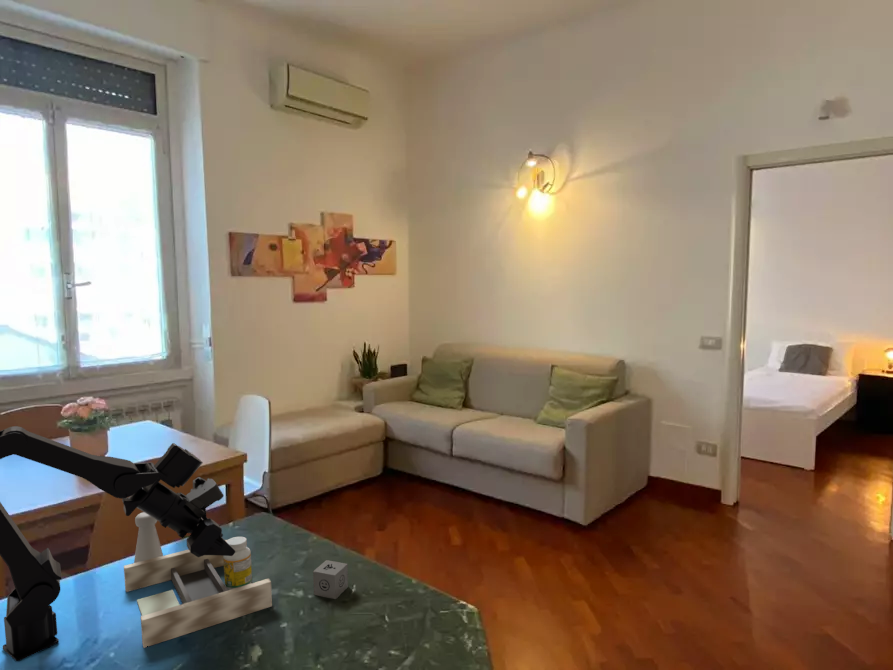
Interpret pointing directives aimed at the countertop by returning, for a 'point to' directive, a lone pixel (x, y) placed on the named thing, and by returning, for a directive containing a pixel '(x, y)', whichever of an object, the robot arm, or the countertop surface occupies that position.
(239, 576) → the supplement bottle
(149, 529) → the salt shaker
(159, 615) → the walled lane
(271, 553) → the countertop surface
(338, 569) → the dice cube
